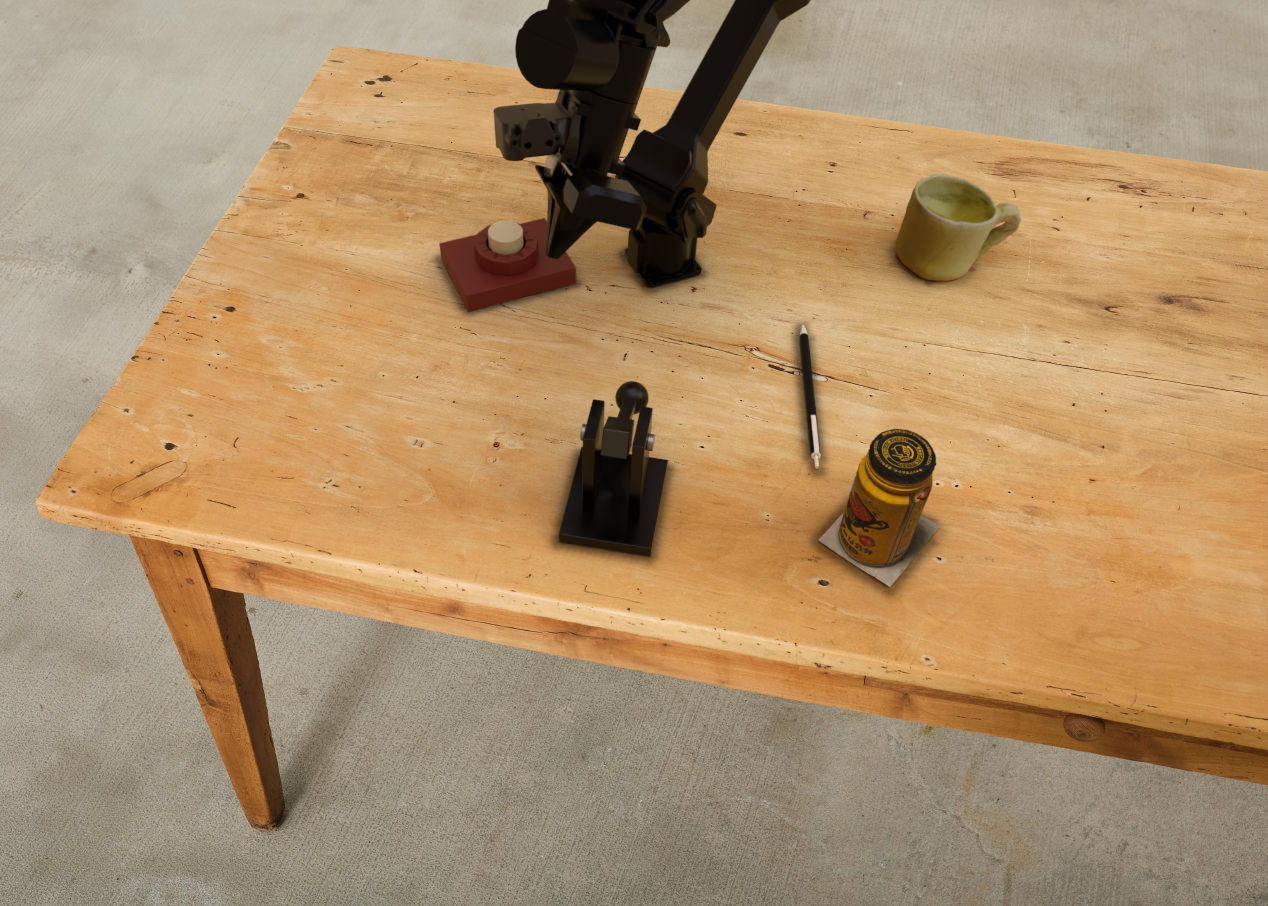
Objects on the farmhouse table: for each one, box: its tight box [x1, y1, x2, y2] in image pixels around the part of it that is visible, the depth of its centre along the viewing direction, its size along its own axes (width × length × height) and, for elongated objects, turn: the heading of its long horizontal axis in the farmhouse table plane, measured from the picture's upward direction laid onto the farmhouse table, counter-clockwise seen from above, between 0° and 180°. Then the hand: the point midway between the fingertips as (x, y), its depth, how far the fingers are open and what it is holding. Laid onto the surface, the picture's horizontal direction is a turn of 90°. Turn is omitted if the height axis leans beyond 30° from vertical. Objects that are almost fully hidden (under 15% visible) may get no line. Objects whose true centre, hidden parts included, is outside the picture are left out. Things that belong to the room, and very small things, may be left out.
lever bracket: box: [558, 398, 669, 557], centre depth 89 cm, size 10×8×11 cm
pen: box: [799, 324, 822, 470], centre depth 103 cm, size 1×19×1 cm, turn 179°
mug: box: [894, 173, 1022, 282], centre depth 114 cm, size 12×10×10 cm
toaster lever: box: [601, 380, 650, 459], centre depth 91 cm, size 12×3×3 cm, turn 171°
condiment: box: [817, 428, 941, 588], centre depth 88 cm, size 7×8×12 cm
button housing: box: [438, 217, 577, 313], centre depth 111 cm, size 12×9×4 cm
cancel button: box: [488, 220, 523, 255], centre depth 109 cm, size 4×4×2 cm
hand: (551, 256), depth 97 cm, fingers closed
